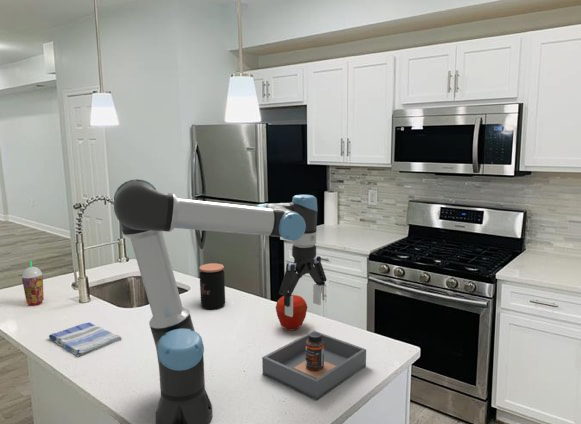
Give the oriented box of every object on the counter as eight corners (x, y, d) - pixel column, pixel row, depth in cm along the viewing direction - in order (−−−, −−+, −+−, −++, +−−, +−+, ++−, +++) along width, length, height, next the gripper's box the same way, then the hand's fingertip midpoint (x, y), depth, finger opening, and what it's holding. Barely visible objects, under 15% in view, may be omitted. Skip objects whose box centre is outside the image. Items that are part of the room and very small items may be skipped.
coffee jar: (198, 303, 209) (196, 265, 206) (221, 299, 214) (220, 262, 211) (204, 312, 200) (202, 271, 197) (228, 307, 204) (227, 268, 201)
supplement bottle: (304, 370, 149) (303, 337, 147) (307, 361, 155) (307, 329, 153) (322, 372, 148) (322, 339, 146) (325, 363, 153) (325, 331, 151)
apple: (280, 336, 176) (279, 301, 173) (272, 324, 187) (272, 290, 185) (311, 332, 179) (311, 297, 176) (302, 320, 190) (302, 287, 188)
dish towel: (78, 359, 161) (77, 351, 160) (47, 340, 176) (46, 333, 175) (123, 341, 174) (123, 334, 174) (91, 325, 189) (90, 318, 188)
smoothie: (20, 306, 208) (15, 262, 204) (35, 299, 216) (30, 257, 212) (35, 308, 206) (30, 264, 202) (50, 301, 213) (45, 259, 210)
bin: (316, 400, 135) (316, 381, 134) (262, 374, 149) (262, 357, 148) (365, 366, 154) (366, 349, 153) (313, 346, 168) (313, 330, 167)
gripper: (285, 254, 134) (285, 324, 137) (338, 240, 152) (336, 302, 155) (267, 249, 139) (267, 317, 142) (320, 236, 157) (319, 296, 160)
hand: (303, 309), depth 149 cm, fingers open, 13 cm apart
